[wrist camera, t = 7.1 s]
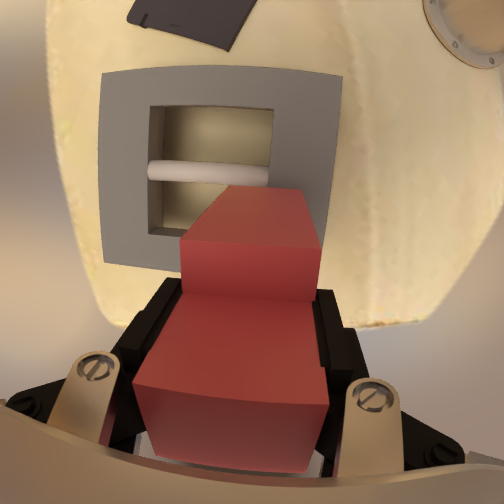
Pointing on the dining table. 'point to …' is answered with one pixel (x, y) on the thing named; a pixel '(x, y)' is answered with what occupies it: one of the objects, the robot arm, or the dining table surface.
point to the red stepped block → (241, 340)
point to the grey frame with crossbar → (158, 170)
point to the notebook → (194, 18)
